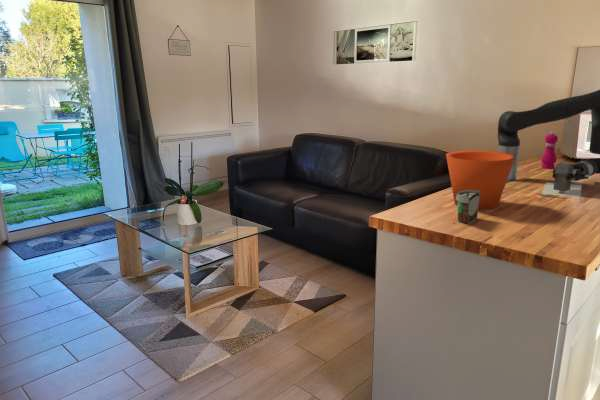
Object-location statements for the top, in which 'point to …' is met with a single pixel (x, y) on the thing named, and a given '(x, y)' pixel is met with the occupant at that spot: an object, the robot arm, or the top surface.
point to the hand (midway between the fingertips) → (560, 176)
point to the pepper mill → (549, 151)
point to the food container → (467, 205)
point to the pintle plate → (566, 193)
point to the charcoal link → (563, 176)
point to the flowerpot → (480, 174)
